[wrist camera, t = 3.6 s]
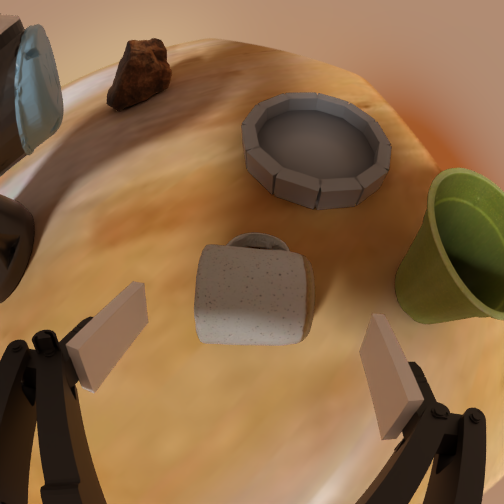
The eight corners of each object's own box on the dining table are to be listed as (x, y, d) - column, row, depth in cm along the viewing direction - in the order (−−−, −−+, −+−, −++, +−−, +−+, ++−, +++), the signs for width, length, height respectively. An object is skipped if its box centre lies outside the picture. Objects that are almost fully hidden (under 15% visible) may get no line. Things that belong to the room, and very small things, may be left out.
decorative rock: (168, 77, 41) (156, 27, 31) (181, 88, 39) (169, 32, 29) (108, 107, 38) (87, 58, 29) (115, 120, 36) (92, 66, 26)
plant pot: (427, 221, 27) (478, 155, 17) (478, 310, 22) (550, 270, 12) (348, 262, 25) (395, 187, 15) (406, 372, 20) (491, 357, 10)
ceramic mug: (302, 350, 22) (321, 335, 15) (207, 348, 22) (185, 333, 16) (298, 240, 26) (310, 192, 20) (215, 240, 27) (202, 191, 20)
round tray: (216, 141, 32) (213, 123, 30) (314, 97, 36) (316, 81, 34) (314, 238, 26) (319, 221, 24) (406, 167, 30) (414, 151, 28)
